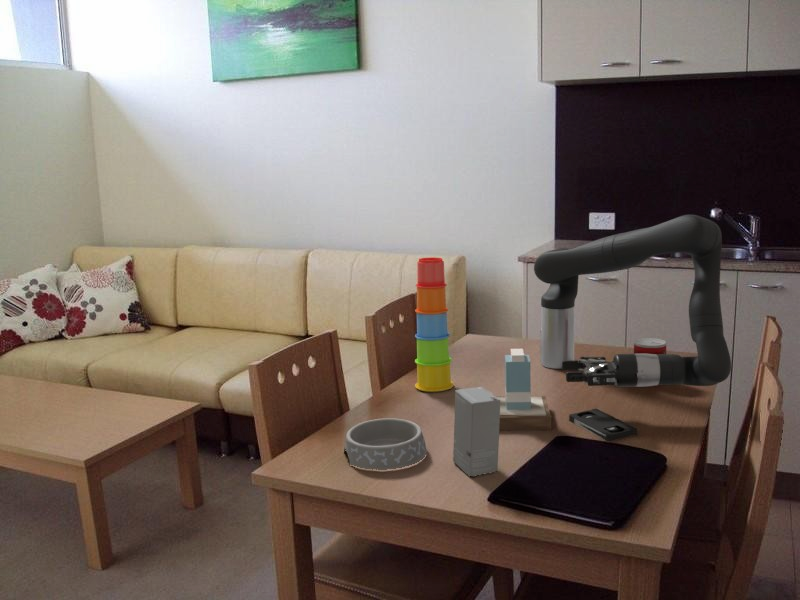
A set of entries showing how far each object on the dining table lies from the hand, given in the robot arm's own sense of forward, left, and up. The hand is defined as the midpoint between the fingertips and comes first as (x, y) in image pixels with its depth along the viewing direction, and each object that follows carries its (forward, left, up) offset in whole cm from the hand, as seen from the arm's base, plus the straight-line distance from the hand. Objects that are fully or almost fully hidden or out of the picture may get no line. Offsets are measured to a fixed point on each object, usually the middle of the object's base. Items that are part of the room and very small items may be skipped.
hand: (564, 371), depth 176 cm
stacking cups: (-34, -19, -12) cm, 41 cm away
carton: (-5, -10, -8) cm, 13 cm away
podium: (-4, -10, -11) cm, 16 cm away
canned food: (-12, +33, -12) cm, 38 cm away
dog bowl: (+1, -44, -12) cm, 46 cm away
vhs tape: (+9, +5, -12) cm, 16 cm away
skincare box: (+16, -30, -12) cm, 35 cm away
